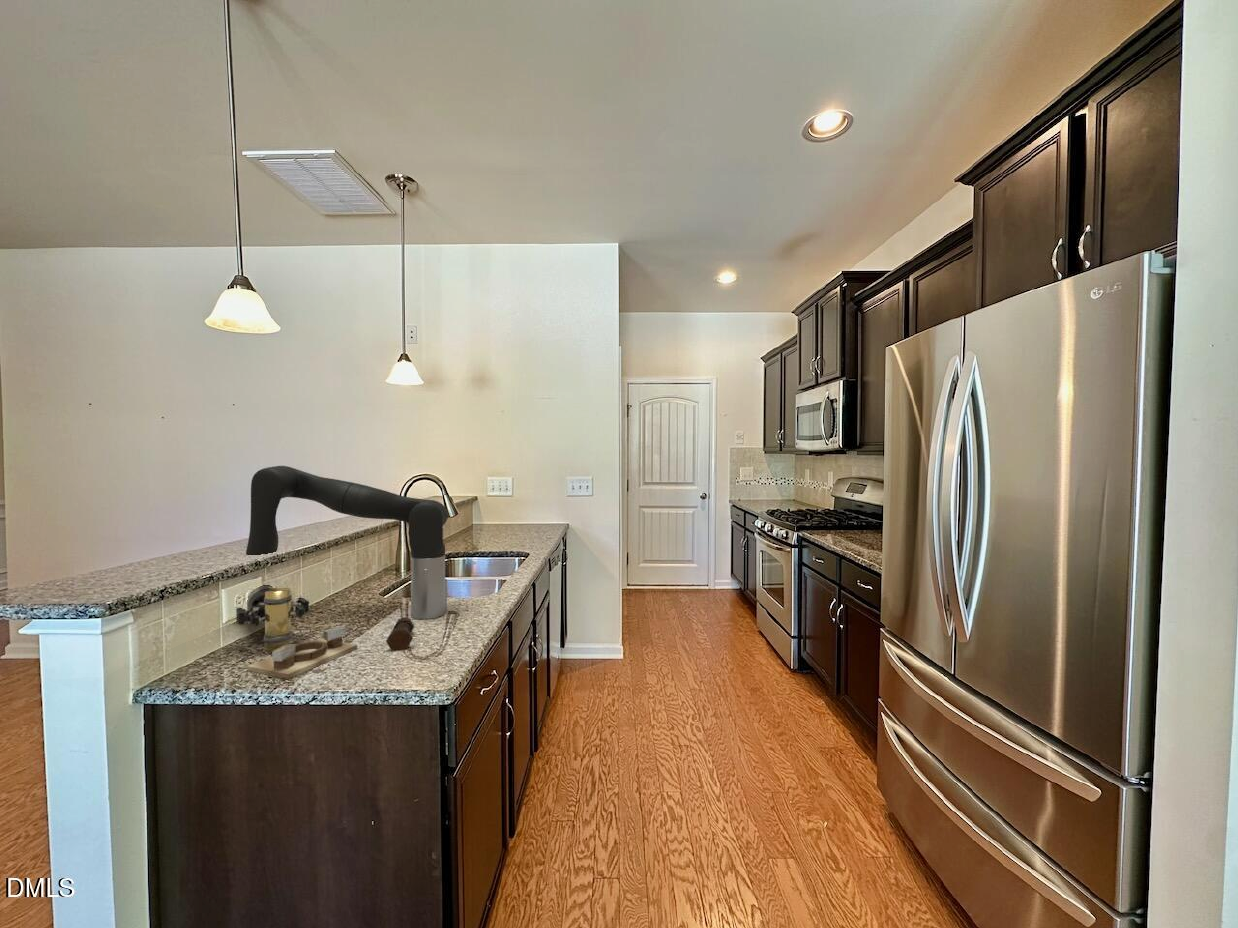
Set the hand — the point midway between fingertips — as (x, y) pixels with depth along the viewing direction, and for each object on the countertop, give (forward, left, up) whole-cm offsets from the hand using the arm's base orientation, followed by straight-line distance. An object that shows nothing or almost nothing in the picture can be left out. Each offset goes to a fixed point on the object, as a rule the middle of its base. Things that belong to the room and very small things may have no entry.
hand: (279, 617), depth 113 cm
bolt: (-16, +21, -9) cm, 28 cm away
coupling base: (+1, +10, -8) cm, 13 cm away
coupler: (-1, -1, -8) cm, 8 cm away
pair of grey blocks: (+1, +12, -5) cm, 13 cm away
